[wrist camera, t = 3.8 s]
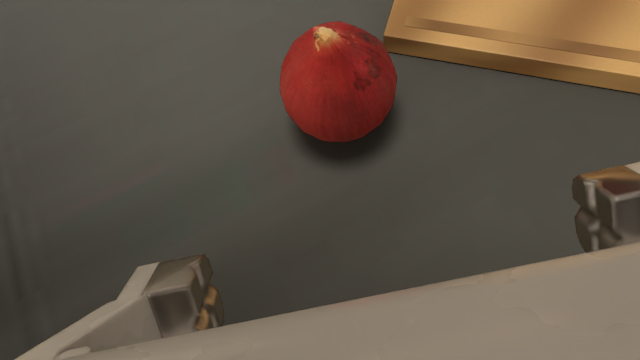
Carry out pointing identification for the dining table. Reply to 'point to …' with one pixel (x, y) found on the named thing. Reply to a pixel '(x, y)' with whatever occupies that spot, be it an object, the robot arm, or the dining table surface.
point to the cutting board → (526, 37)
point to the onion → (337, 82)
